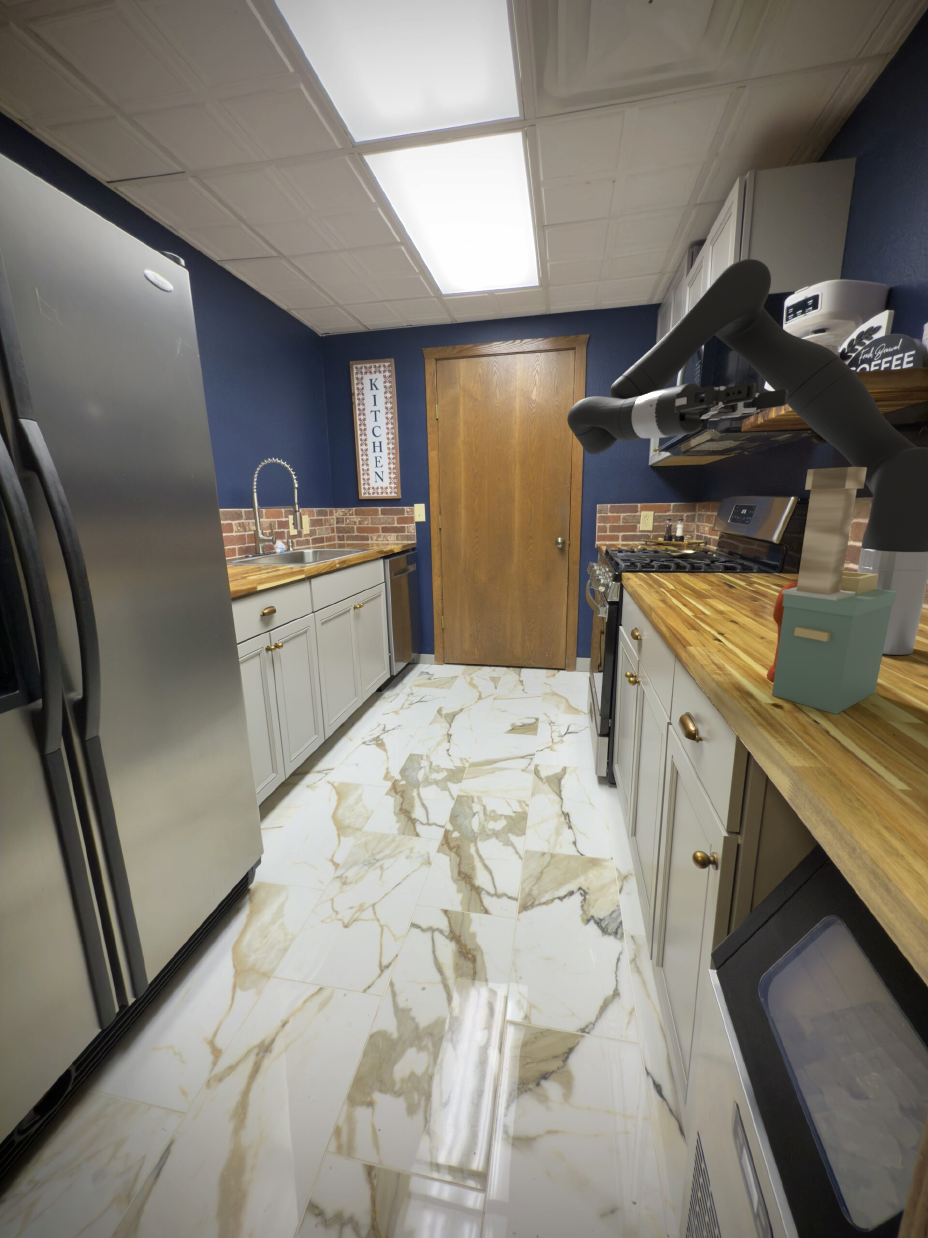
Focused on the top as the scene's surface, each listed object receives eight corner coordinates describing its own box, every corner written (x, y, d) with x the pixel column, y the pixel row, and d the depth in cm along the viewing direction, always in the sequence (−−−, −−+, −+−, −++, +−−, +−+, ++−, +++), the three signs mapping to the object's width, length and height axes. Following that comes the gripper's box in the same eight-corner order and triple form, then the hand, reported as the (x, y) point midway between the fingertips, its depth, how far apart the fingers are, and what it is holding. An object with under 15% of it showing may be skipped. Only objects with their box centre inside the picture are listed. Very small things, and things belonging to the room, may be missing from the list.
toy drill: (814, 649, 83) (821, 562, 78) (802, 696, 69) (810, 593, 65) (780, 646, 86) (785, 561, 81) (762, 690, 72) (767, 591, 68)
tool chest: (812, 675, 74) (828, 569, 70) (878, 691, 67) (901, 575, 63) (765, 695, 66) (781, 578, 63) (834, 716, 60) (857, 586, 56)
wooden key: (803, 587, 65) (820, 469, 62) (846, 592, 61) (866, 467, 58) (790, 590, 63) (807, 469, 60) (834, 595, 60) (854, 466, 56)
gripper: (641, 383, 76) (746, 357, 63) (695, 392, 84) (800, 370, 70) (638, 434, 78) (740, 419, 65) (691, 438, 86) (792, 426, 72)
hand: (771, 394), depth 68 cm, fingers open, 8 cm apart
